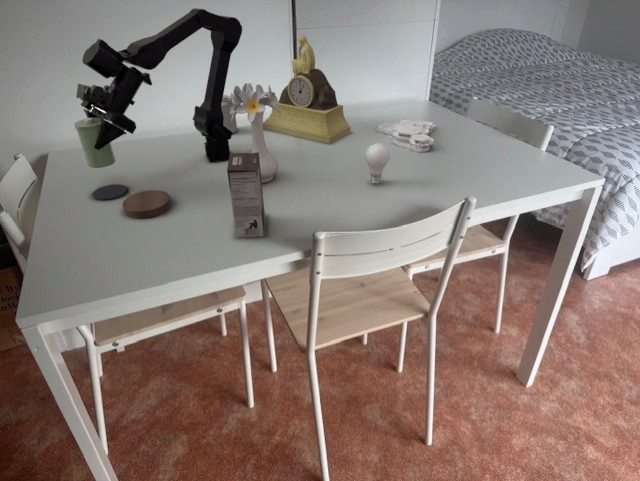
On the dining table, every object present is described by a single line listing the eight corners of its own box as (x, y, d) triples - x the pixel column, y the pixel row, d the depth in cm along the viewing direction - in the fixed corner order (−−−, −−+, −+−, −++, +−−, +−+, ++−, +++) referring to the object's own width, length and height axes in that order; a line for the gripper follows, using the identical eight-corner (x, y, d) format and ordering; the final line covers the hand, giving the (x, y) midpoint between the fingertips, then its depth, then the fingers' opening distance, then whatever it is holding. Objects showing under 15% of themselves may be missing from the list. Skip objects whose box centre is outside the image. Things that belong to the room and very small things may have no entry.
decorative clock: (262, 128, 158) (255, 35, 142) (285, 118, 167) (280, 30, 151) (329, 144, 145) (329, 43, 128) (350, 132, 154) (352, 37, 137)
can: (232, 136, 152) (228, 100, 146) (212, 135, 153) (206, 99, 147) (240, 129, 158) (236, 94, 152) (220, 127, 160) (215, 93, 153)
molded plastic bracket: (454, 130, 154) (456, 117, 151) (427, 154, 136) (428, 140, 134) (392, 120, 164) (393, 107, 162) (360, 141, 146) (360, 127, 144)
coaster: (127, 183, 122) (127, 182, 122) (127, 197, 115) (127, 195, 115) (93, 188, 120) (93, 187, 119) (91, 202, 113) (91, 201, 113)
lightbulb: (372, 190, 116) (374, 150, 110) (359, 181, 121) (360, 142, 115) (392, 185, 119) (395, 145, 113) (379, 176, 123) (381, 138, 117)
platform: (169, 194, 116) (168, 187, 115) (173, 213, 108) (171, 206, 106) (124, 201, 113) (122, 194, 112) (124, 222, 104) (122, 214, 103)
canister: (121, 157, 115) (109, 114, 109) (108, 168, 110) (94, 123, 104) (96, 157, 116) (82, 114, 110) (82, 168, 110) (67, 123, 104)
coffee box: (238, 217, 105) (229, 152, 97) (265, 216, 106) (259, 151, 97) (235, 238, 98) (225, 169, 89) (264, 236, 98) (258, 168, 89)
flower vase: (269, 161, 133) (262, 73, 120) (294, 185, 119) (290, 89, 106) (227, 170, 128) (214, 79, 115) (248, 196, 115) (236, 96, 101)
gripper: (77, 63, 109) (44, 119, 109) (109, 76, 98) (72, 138, 97) (117, 90, 118) (87, 142, 117) (151, 104, 106) (117, 161, 106)
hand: (90, 145), depth 109 cm, fingers closed on canister, 6 cm apart
